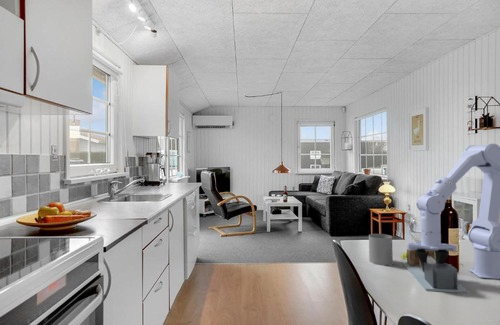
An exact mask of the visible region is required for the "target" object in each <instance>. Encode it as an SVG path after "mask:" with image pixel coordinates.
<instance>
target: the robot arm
mask: <svg viewBox="0 0 500 325" xmlns="http://www.w3.org/2000/svg"><path fill="white" fill-rule="evenodd" d="M473 167H476V168H478V169H480V171H481V172H482V173H483V180H482V185H481V186H482V187H481V196H480V202H479V204H480V205H479V208H478V209H479V210H478V217H477V219H475V220H474V221H473V222H471V227H470V229H469V230H468V233H467V237H468V240H469V242H470V243H471V244H472V247H473V266H474V268H469V272H471V273H473V275H475V276H477V277H478V278H479V279H498V280H499V279H500V220H499V219H500V145H498V144H496V143H489V144H478V145H476V144H471V145H468V146H467V147H466V148H465V149H464V151H462V152H461V154H460V158H459V160H458V161H457V162H456V163H455V165H454V166H453V167H452V168H451V170H450V171H449V172H448V174H447V175H446V177H440V178H437V179H436V180H434V181H435V183H434V185H433V186H432V187H431V188H430V189H429V190H427V191H426V194H424V195H421V196H420V197H419V198H418V200H417V202H416V203H415V204H416V207H417V209H418V210H419V215H420V240H421V241H420V242H406V250H407V249H408V250H415V251H416V253H417V255H418V257H419V259H420V262H421V265H422V269H423V272H424V262H427V255H428V254H427V253H426V251H425V250H434V252H435V260H436V261H437V262H438V263H440V264H443V263H445V261H446V260H447V258H448V256H449V252H454V253H455V252H457V245H455V244H449V243H442V242H441V241H442V234H441V226H442V225H441V212H443V211H444V209H445V206H446V202H447V200H448V199H449V198H450V197H451V195H452V194H453V193H454V192H455V191H456V190H457V182H458V181H460V180H461V179H462V178H463V177H465V174H467V173H468V172H469V171H470V170H471V169H472V168H473ZM444 182H445V183H446V184H444ZM449 182H451V183H452V184H449ZM451 193H452V194H451Z"/></svg>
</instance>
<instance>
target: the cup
mask: <svg viewBox="0 0 500 325" xmlns="http://www.w3.org/2000/svg"><path fill="white" fill-rule="evenodd" d="M393 254H394V253H393V236H392V235H389V234H385V233H371V234H368V260H369V263H371V264H373V265H378V266H390V265H392V264H393V263H394V262H393V261H394V260H393Z"/></svg>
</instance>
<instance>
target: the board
mask: <svg viewBox="0 0 500 325" xmlns="http://www.w3.org/2000/svg"><path fill="white" fill-rule="evenodd" d="M402 265H403V266H404V267H405V268H406V270H408V272H409V273H410V274H411V276H412V277H413V278H414V279H415V280H416V281H417V283H419V284H420V286H421V287H422V288H423V290H425V291H426V292H427V291H428V292H444V293H445V292H446V293H460V294H461V293H463V294H467V293H468V290H466V289H465V288H464V286H462V285H461V284H460V283H458V290H452V289H434V288H433V287H432V286H431V285H430V284H429V283H428V282H427V281H426V280H425V276H424V272H423V271H422V270H421V269H419V265H418V264H415V266H409V265H408V264H407V262H403V264H402Z"/></svg>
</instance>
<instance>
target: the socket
mask: <svg viewBox="0 0 500 325" xmlns="http://www.w3.org/2000/svg"><path fill="white" fill-rule="evenodd" d="M425 251H426V253H427V254H428V255H427V256H431V257H432V258H433V259H435V260H436V257H435V251H434V250H425ZM406 263H407V264H408V265H409V266H415V264H418V265H419V257H418V255H417V253H416V251H415V250H408V249H407V248H406Z"/></svg>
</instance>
